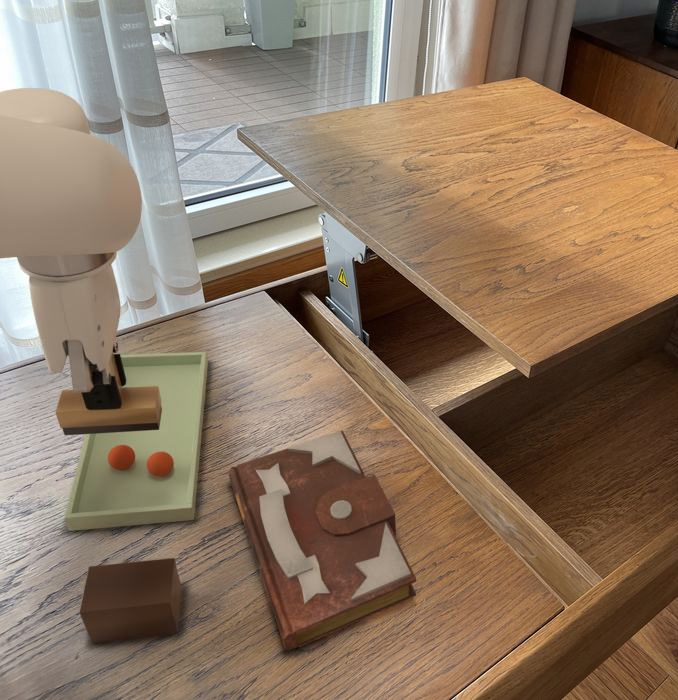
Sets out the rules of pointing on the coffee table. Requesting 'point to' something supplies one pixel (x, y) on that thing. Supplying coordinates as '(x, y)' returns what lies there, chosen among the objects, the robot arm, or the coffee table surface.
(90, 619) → the stand
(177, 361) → the tray
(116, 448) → the orange ball
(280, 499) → the book
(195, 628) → the coffee table surface
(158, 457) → the orange-red sphere
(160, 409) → the wooden block
